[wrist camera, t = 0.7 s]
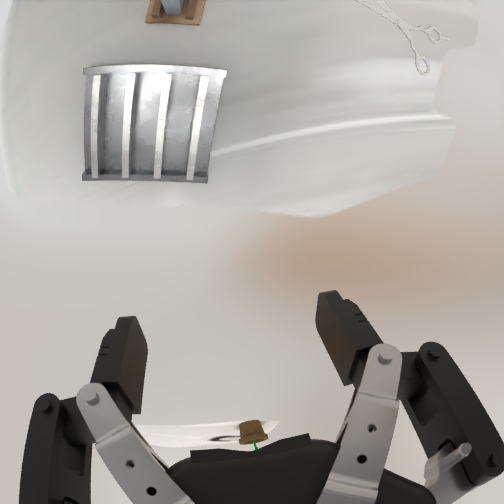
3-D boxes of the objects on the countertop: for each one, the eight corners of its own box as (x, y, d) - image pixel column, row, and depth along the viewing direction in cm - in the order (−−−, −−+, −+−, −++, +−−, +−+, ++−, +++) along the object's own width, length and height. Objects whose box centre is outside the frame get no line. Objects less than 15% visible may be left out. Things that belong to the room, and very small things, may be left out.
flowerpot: (267, 421, 120) (281, 472, 98) (241, 428, 121) (253, 478, 99) (258, 416, 111) (274, 473, 88) (230, 424, 111) (243, 479, 89)
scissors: (431, 83, 30) (337, 10, 22) (428, 82, 31) (334, 11, 23) (449, 39, 24) (361, -39, 16) (446, 38, 25) (358, -38, 17)
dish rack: (87, 172, 30) (78, 186, 27) (90, 67, 22) (78, 68, 19) (205, 175, 35) (208, 188, 32) (224, 70, 26) (228, 71, 23)
